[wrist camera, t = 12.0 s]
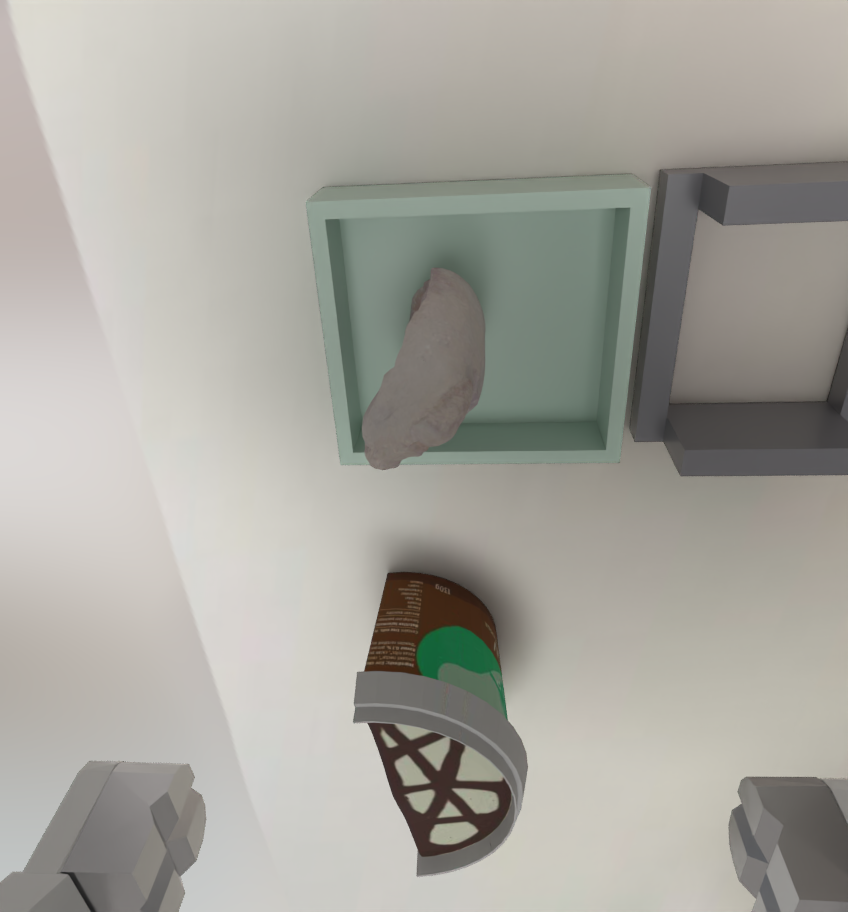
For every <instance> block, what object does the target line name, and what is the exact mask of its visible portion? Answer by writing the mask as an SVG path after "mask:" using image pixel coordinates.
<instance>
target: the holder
mask: <svg viewBox="0 0 848 912" xmlns="http://www.w3.org/2000/svg"><path fill="white" fill-rule="evenodd" d="M698 209H699V210H701V211H702V212H704V213H705V214H707V215H708V216H710V217H711V218H713V219H714V220H716V221H717V222H719V223H720V224H722V225H749V224H776V223H804V222H831V221H848V162H825V163H802V164H779V165H756V166H734V167H711V168H688V169H665V170H660V177H659V186H658V194H657V202H656V211H655V219H654V228H653V236H652V244H651V253H650V261H649V269H648V278H647V286H646V294H645V303H644V311H643V319H642V328H641V336H640V344H639V353H638V361H637V370H636V378H635V386H634V395H633V403H632V411H631V420H630V428H629V429H630V431H631V434H632V436H633V439H634V441H635V442H664V444H665V446H666V448H667V450H668V452H669V454H670V456H671V458H672V460H673V462H674V464H675V467H676V469H677V471H678V473H679V475H680V476H785V475H848V330H847V334H846V337H845V341H844V344H843V348H842V351H841V355H840V358H839V362H838V365H837V369H836V373H835V376H834V380H833V383H832V387H831V390H830V394H829V397H828V401H827V402H778V403H713V404H669V400H670V393H671V387H672V380H673V373H674V367H675V360H676V353H677V347H678V340H679V334H680V327H681V320H682V314H683V307H684V300H685V294H686V287H687V280H688V274H689V267H690V260H691V254H692V247H693V240H694V234H695V227H696V221H697V214H698Z"/></svg>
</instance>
